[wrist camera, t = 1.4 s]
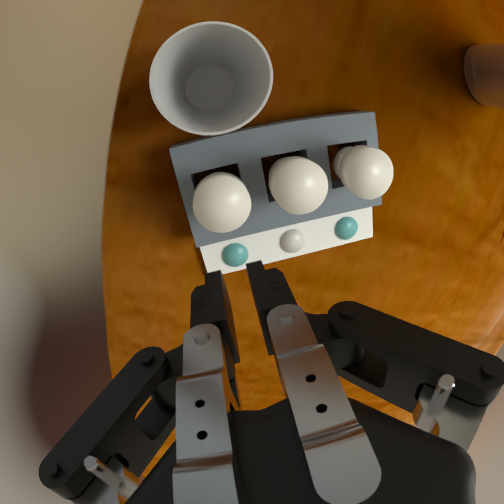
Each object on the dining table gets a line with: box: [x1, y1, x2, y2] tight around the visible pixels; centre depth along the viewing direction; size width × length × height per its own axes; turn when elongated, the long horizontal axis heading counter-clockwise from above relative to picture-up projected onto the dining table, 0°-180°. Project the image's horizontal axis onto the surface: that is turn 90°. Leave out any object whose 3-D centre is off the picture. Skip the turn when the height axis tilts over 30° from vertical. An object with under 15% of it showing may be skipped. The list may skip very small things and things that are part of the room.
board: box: [169, 111, 382, 247], centre depth 30 cm, size 20×10×3 cm, turn 102°
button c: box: [193, 172, 251, 233], centre depth 26 cm, size 5×5×5 cm
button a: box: [333, 145, 393, 200], centre depth 27 cm, size 5×5×5 cm
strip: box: [200, 207, 373, 274], centre depth 34 cm, size 20×4×1 cm, turn 102°
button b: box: [269, 156, 328, 215], centre depth 26 cm, size 5×5×5 cm
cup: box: [149, 21, 273, 135], centre depth 22 cm, size 8×8×10 cm
